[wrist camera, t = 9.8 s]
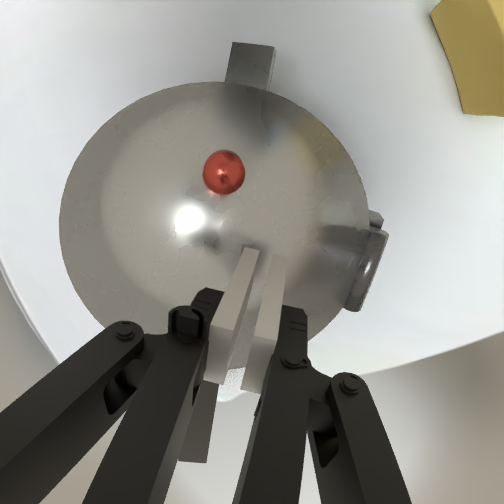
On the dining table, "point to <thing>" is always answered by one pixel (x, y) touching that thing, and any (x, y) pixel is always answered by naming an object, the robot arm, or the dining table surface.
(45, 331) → the dining table surface
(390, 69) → the dining table surface
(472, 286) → the dining table surface
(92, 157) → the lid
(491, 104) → the cheese
